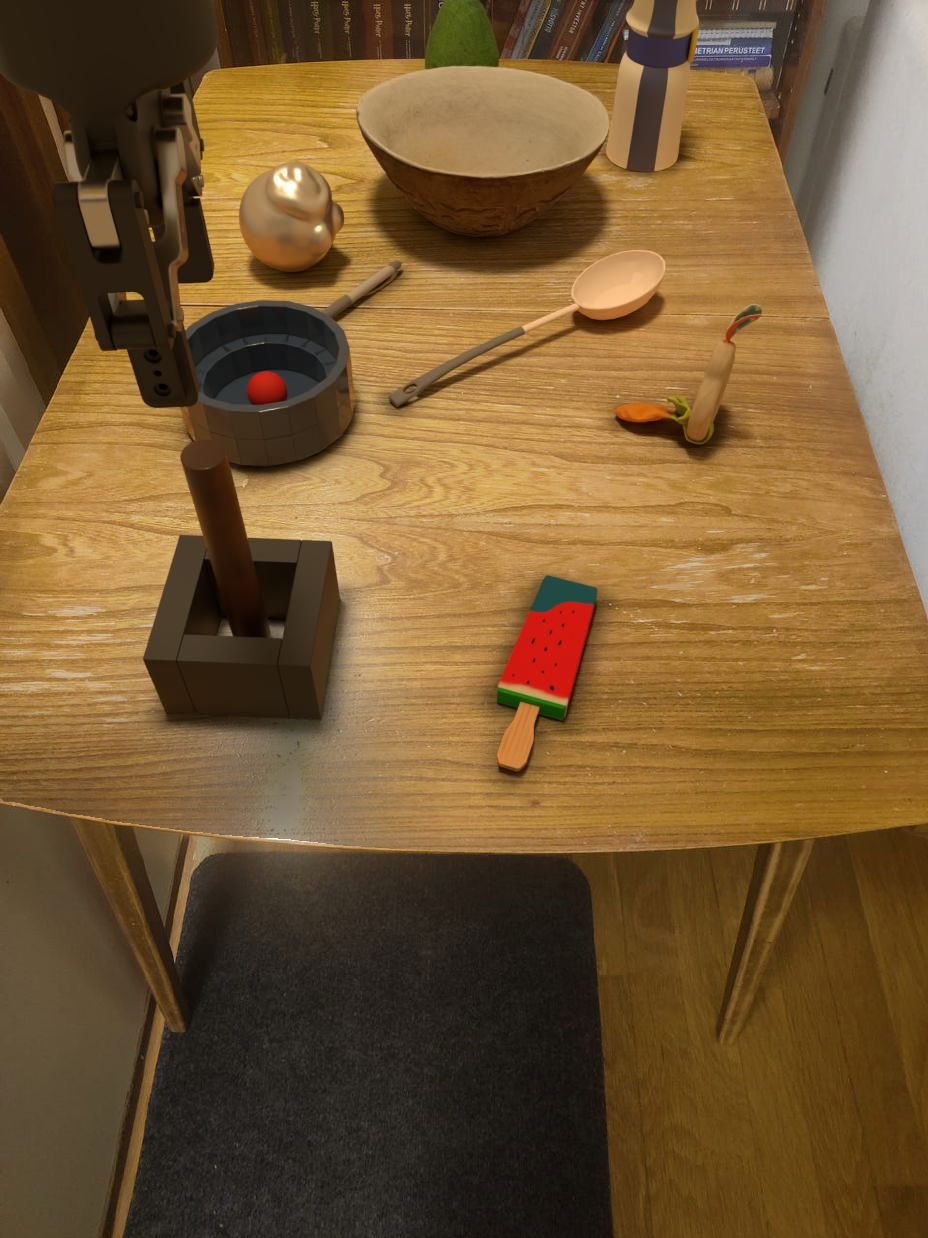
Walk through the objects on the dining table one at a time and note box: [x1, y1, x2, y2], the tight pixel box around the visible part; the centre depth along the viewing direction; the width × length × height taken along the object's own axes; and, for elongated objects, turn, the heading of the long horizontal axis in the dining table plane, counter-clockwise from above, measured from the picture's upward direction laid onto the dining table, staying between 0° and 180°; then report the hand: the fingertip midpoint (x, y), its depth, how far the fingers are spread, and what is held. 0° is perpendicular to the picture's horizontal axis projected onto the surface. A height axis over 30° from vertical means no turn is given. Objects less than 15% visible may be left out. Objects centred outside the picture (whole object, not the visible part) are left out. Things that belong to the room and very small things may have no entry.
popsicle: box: [496, 574, 598, 772], centre depth 65 cm, size 5×2×15 cm
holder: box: [142, 534, 341, 721], centre depth 65 cm, size 10×10×6 cm
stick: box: [179, 439, 273, 638], centre depth 60 cm, size 2×2×18 cm
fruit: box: [424, 0, 500, 70], centre depth 109 cm, size 8×8×12 cm
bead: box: [247, 371, 288, 405], centre depth 80 cm, size 3×3×3 cm
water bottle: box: [605, 0, 700, 173], centre depth 98 cm, size 8×9×25 cm
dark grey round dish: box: [179, 299, 356, 467], centre depth 79 cm, size 14×14×6 cm
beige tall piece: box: [614, 303, 763, 445], centre depth 77 cm, size 8×8×12 cm
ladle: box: [388, 249, 667, 407], centre depth 87 cm, size 6×28×5 cm, turn 124°
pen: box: [320, 259, 403, 319], centre depth 90 cm, size 1×14×1 cm, turn 143°
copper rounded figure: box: [238, 161, 345, 273], centre depth 91 cm, size 9×10×10 cm
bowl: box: [355, 66, 610, 238], centre depth 97 cm, size 24×24×10 cm
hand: (183, 336), depth 43 cm, fingers open, 8 cm apart
